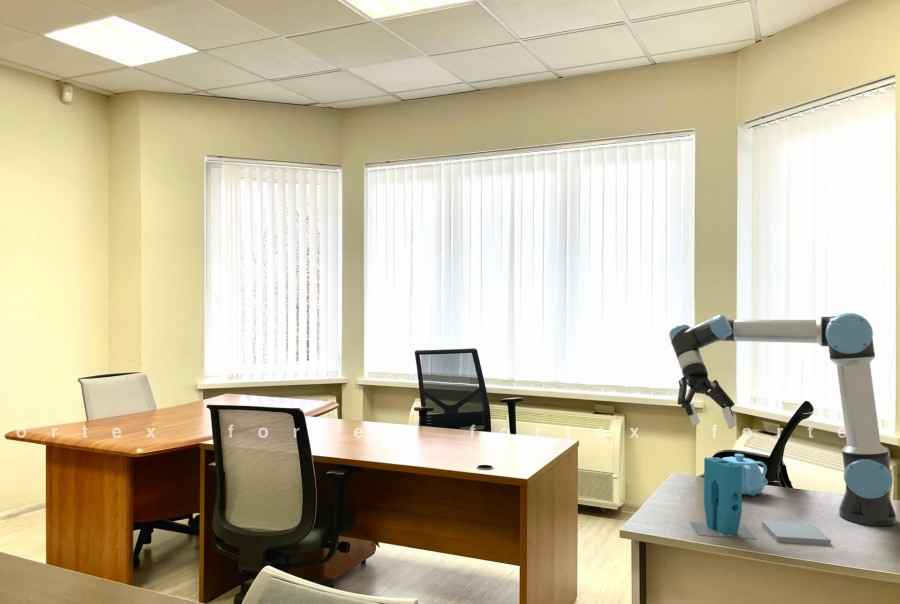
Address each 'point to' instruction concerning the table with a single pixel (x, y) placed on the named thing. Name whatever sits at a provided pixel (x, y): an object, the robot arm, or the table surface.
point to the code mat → (706, 531)
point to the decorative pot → (750, 474)
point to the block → (722, 495)
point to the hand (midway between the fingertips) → (714, 425)
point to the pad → (795, 533)
